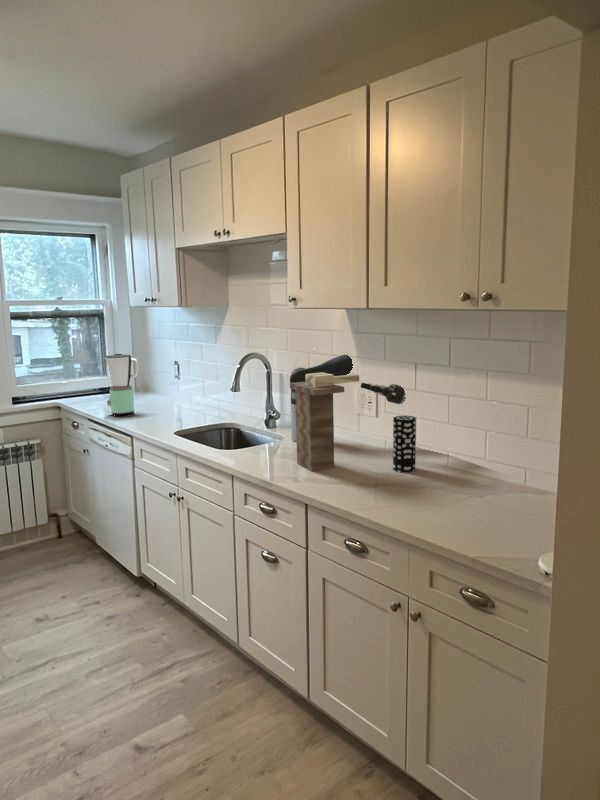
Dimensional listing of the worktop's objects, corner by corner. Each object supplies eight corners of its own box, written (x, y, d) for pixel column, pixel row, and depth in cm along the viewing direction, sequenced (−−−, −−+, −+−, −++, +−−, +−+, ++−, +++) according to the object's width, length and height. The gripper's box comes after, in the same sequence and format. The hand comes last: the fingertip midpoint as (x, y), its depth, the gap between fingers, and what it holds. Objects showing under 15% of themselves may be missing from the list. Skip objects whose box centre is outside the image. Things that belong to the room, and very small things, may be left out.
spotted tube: (409, 473, 222) (409, 421, 218) (389, 470, 227) (389, 418, 223) (419, 468, 228) (419, 417, 225) (399, 465, 233) (399, 414, 230)
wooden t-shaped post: (291, 461, 241) (289, 383, 236) (319, 456, 247) (318, 380, 241) (315, 474, 224) (313, 390, 218) (345, 469, 230) (344, 386, 224)
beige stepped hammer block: (305, 384, 232) (305, 374, 231) (351, 379, 241) (351, 369, 241) (315, 386, 225) (315, 376, 224) (362, 382, 234) (362, 371, 234)
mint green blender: (105, 417, 338) (100, 355, 332) (110, 412, 352) (106, 353, 345) (139, 416, 340) (135, 354, 334) (143, 411, 353) (139, 352, 347)
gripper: (393, 384, 252) (360, 375, 246) (411, 388, 239) (376, 379, 232) (389, 401, 252) (355, 392, 246) (406, 406, 239) (371, 398, 233)
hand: (366, 386), depth 239 cm, fingers open, 8 cm apart
